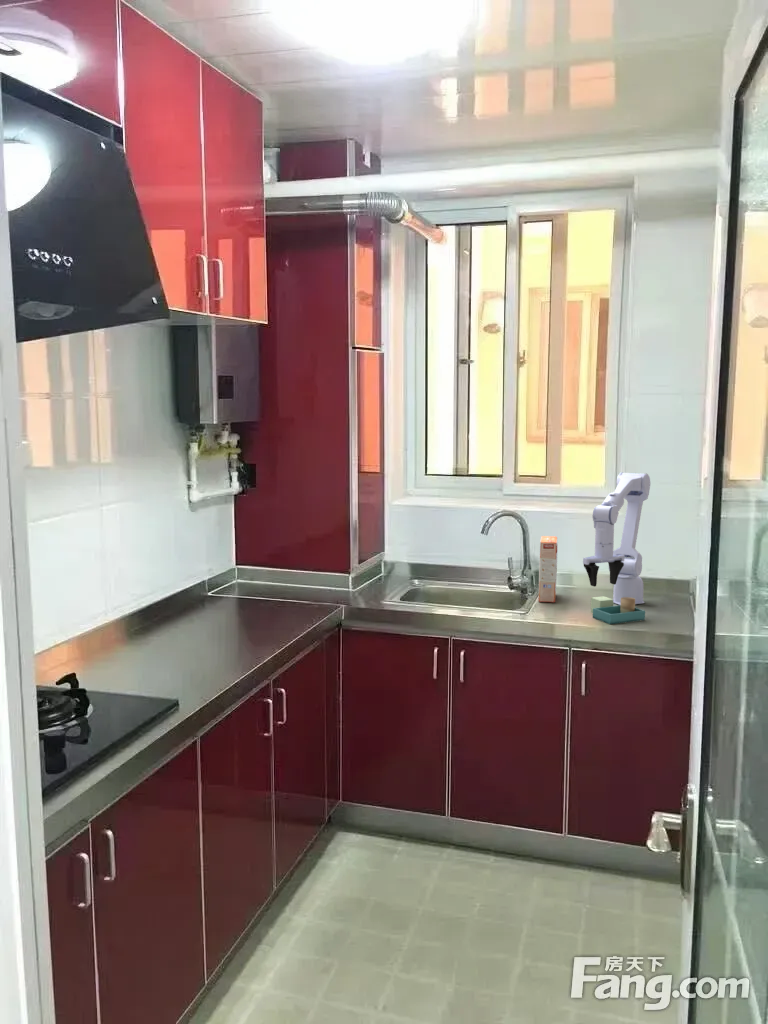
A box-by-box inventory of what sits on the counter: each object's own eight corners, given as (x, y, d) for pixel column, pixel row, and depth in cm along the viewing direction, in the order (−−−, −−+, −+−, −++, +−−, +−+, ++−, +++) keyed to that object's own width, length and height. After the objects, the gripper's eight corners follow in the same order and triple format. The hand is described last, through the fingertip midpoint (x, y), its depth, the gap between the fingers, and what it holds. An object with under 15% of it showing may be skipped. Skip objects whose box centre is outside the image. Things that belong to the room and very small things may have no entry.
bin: (626, 613, 281) (626, 604, 281) (644, 620, 273) (645, 610, 272) (592, 617, 276) (592, 608, 276) (610, 624, 268) (610, 614, 267)
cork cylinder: (628, 613, 279) (628, 596, 278) (637, 616, 275) (638, 599, 274) (617, 615, 277) (617, 598, 276) (626, 618, 273) (627, 600, 272)
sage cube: (603, 611, 285) (604, 596, 284) (612, 614, 280) (613, 599, 280) (590, 612, 283) (591, 597, 282) (599, 616, 278) (600, 600, 278)
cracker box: (556, 603, 296) (557, 542, 293) (538, 602, 297) (539, 541, 295) (556, 594, 310) (557, 535, 307) (539, 593, 311) (540, 535, 308)
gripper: (592, 546, 272) (591, 589, 274) (631, 543, 278) (629, 585, 279) (579, 543, 278) (578, 584, 280) (617, 540, 284) (615, 581, 286)
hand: (603, 584), depth 280 cm, fingers open, 7 cm apart
